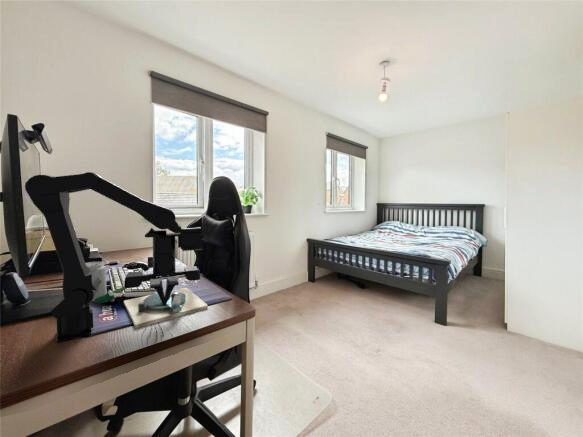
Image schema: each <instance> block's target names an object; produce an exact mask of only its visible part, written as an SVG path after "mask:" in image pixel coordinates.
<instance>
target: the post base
mask: <svg viewBox="0 0 583 437" xmlns="http://www.w3.org/2000/svg"><path fill="white" fill-rule="evenodd" d="M172 291H179V292H183V293H184V294H185V295H186V300H185V302H184V303H182V304H181V305H180V306H182V311H179V312H175V313H173V312H172V311H170V310H169V309H164V310H149V309H146V308H145V303H143V301H144V299H145V298H147V297H148V296H150V295H151V294H149V295H144V296H140V297H135V298H131V299H125V300H123V305H124V307H125V309H126V311H127V314H128V315H129V317H130V319H132V320H131V321H133V322H132V323H133V325H134V327H135V329H138V328H142V327H147V326H149V325H152V324H153V325H154V324H156V323H160V322H163V321H168V320H171V319H175V318H177V317H180V316H185V315H188V314H191V313H195V312H199V311H202V310H205V309H208V304H207V303H206V302H204V301H203V299H201V298H199V297H198V296H197V295H196V294H195V293H194V292H192V290H190V289H189V288H187V287H183V288H182V287H181V288H178V289H173V290H172Z"/></svg>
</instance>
